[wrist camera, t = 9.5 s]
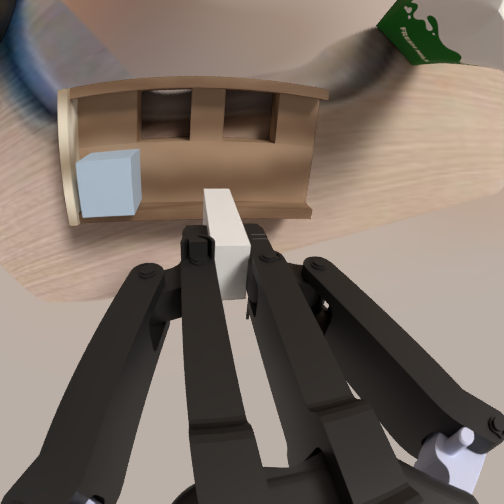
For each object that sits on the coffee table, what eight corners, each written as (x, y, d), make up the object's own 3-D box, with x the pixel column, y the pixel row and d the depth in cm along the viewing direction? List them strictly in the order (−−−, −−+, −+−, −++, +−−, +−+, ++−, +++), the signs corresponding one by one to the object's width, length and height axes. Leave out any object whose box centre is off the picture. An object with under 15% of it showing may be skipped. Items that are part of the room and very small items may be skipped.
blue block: (91, 153, 23) (75, 162, 19) (139, 148, 24) (130, 157, 20) (95, 201, 25) (82, 217, 22) (141, 199, 26) (134, 215, 23)
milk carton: (438, 36, 23) (563, 49, 6) (412, 75, 26) (553, 102, 9) (396, -11, 19) (525, -31, 2) (365, 25, 22) (514, 8, 5)
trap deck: (78, 90, 21) (57, 90, 17) (311, 89, 26) (331, 90, 22) (85, 206, 28) (69, 225, 23) (296, 202, 32) (312, 220, 28)
